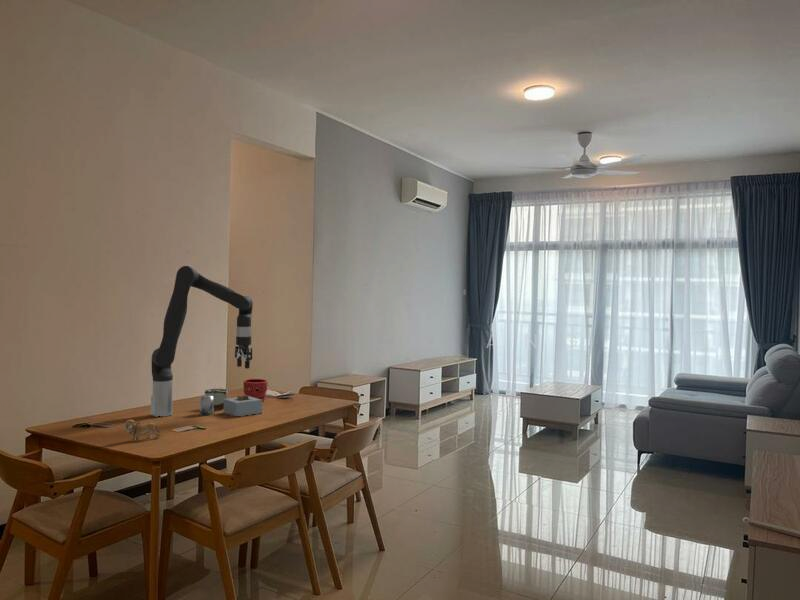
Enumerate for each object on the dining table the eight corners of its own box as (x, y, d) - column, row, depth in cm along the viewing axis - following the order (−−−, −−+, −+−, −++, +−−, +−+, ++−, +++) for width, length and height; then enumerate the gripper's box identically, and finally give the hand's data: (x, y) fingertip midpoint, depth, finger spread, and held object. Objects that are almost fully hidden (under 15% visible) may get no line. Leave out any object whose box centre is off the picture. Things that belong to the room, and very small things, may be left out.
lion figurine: (127, 443, 241) (127, 421, 241) (122, 441, 245) (122, 419, 245) (163, 438, 251) (163, 416, 251) (158, 435, 255) (159, 414, 255)
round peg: (203, 416, 297) (203, 397, 296) (197, 413, 301) (197, 396, 301) (215, 414, 301) (216, 396, 301) (210, 412, 306) (210, 394, 306)
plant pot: (240, 403, 331) (241, 381, 331) (246, 399, 344) (246, 378, 344) (264, 403, 332) (264, 382, 331) (269, 399, 345) (269, 378, 345)
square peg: (241, 414, 302) (241, 396, 302) (237, 413, 305) (237, 395, 305) (248, 413, 304) (248, 395, 304) (244, 412, 307) (244, 394, 307)
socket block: (236, 417, 295) (236, 402, 295) (223, 412, 305) (223, 398, 305) (261, 413, 304) (262, 399, 304) (248, 409, 314) (248, 396, 314)
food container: (231, 407, 319) (231, 388, 319) (226, 409, 313) (227, 390, 313) (209, 406, 320) (209, 388, 320) (204, 409, 314) (204, 389, 314)
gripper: (230, 334, 307) (229, 366, 307) (243, 336, 296) (242, 369, 296) (243, 334, 312) (243, 365, 312) (257, 336, 301) (256, 368, 301)
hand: (243, 367), depth 304 cm, fingers open, 8 cm apart
